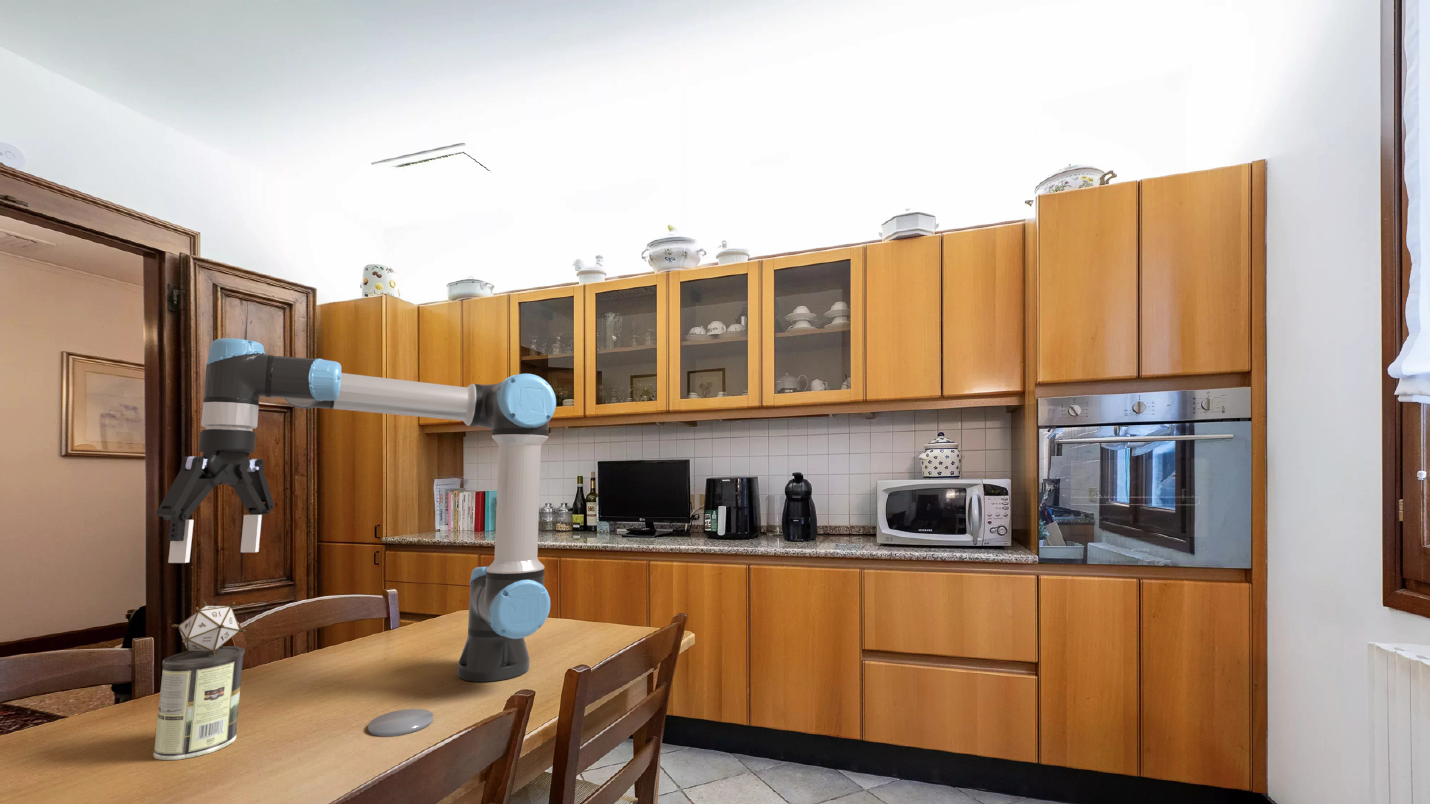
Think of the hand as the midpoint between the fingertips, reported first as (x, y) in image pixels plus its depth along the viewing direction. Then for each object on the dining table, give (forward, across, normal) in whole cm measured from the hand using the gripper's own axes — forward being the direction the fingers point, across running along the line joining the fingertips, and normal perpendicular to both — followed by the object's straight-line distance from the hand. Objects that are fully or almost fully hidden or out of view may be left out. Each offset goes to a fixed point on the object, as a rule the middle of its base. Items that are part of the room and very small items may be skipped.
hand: (216, 557), depth 101 cm
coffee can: (+30, 0, 0) cm, 30 cm away
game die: (+16, 0, 0) cm, 16 cm away
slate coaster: (+30, -10, +28) cm, 42 cm away
